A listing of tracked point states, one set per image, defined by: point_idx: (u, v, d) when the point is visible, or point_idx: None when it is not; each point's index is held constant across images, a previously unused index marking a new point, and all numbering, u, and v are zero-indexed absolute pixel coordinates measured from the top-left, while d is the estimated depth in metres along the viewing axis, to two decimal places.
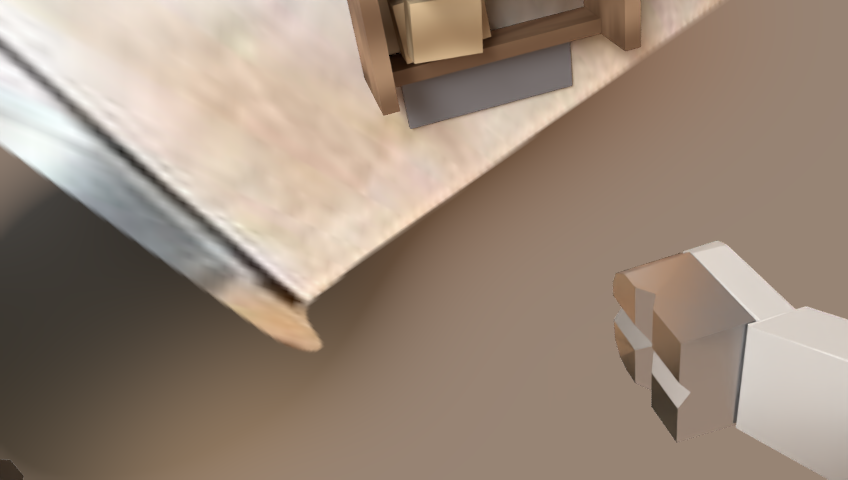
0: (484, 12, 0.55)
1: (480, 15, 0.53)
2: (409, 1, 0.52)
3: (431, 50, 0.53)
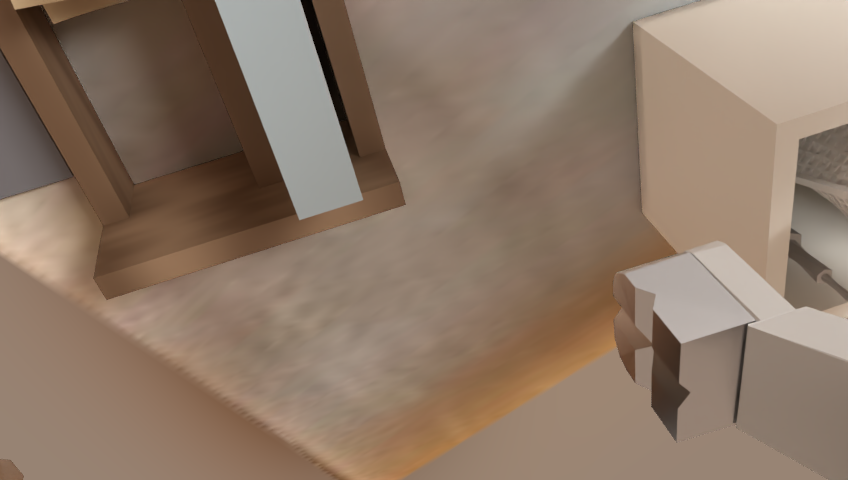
0: (99, 3, 0.29)
1: None
2: None
3: None
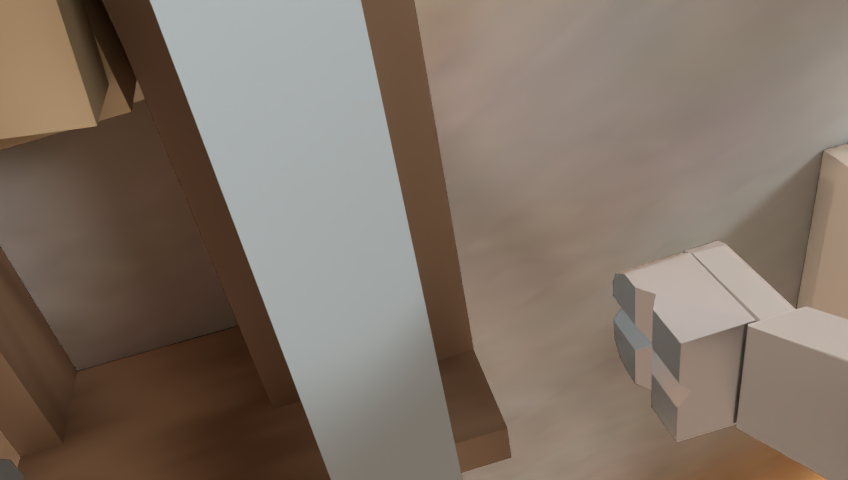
0: (12, 138, 0.16)
1: (10, 133, 0.14)
2: None
3: None
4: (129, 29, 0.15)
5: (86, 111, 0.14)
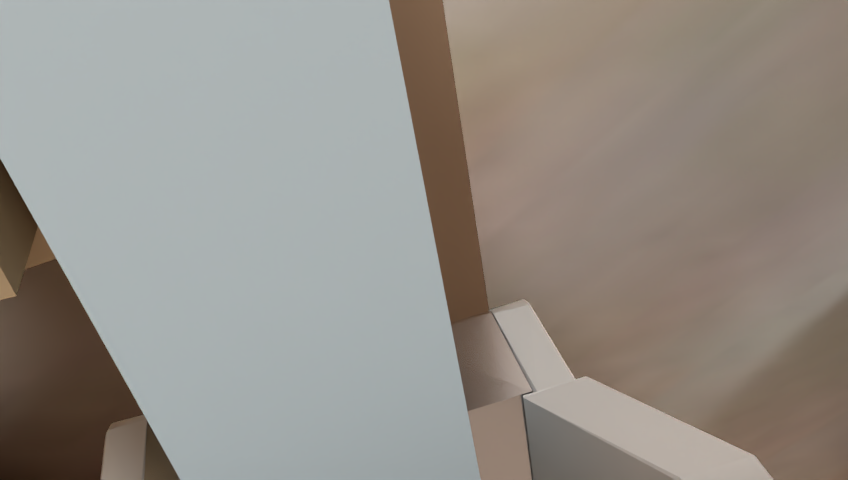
0: None
1: None
2: None
3: None
4: None
5: None
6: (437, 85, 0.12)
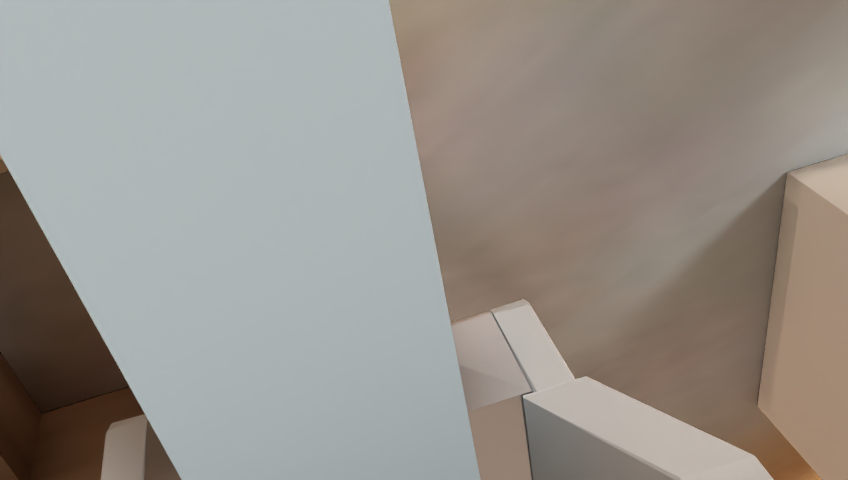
0: None
1: None
2: None
3: None
4: None
5: None
6: None
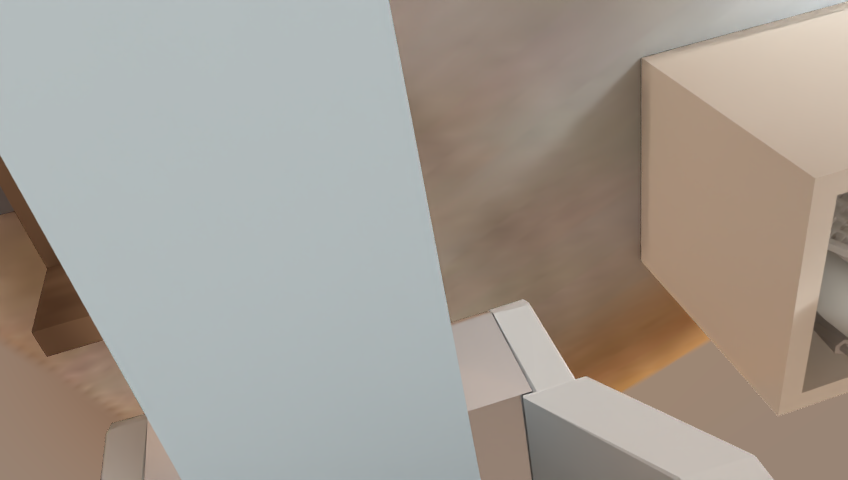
0: None
1: None
2: None
3: None
4: None
5: None
6: None
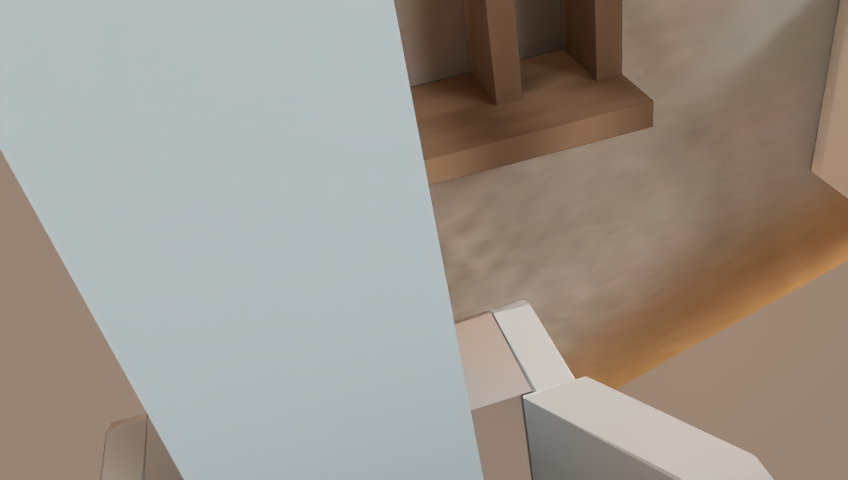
0: None
1: None
2: None
3: None
4: None
5: None
6: None
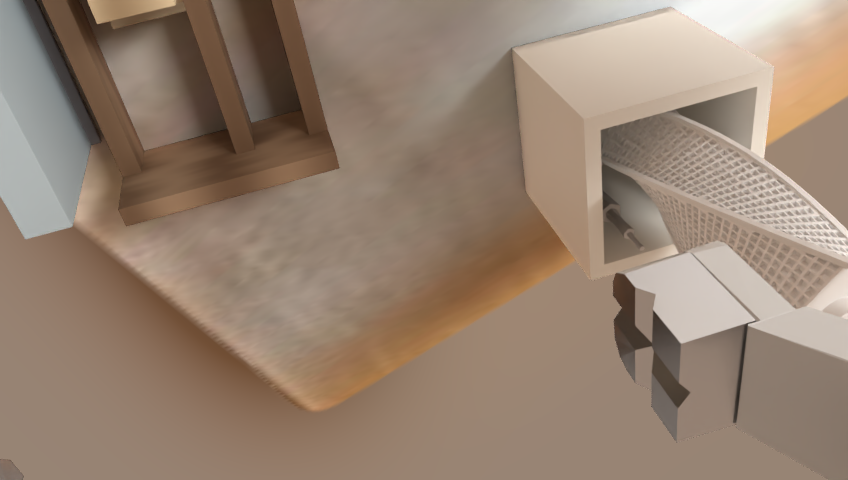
0: None
1: (146, 10, 0.41)
2: None
3: None
4: None
5: None
6: None
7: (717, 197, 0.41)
